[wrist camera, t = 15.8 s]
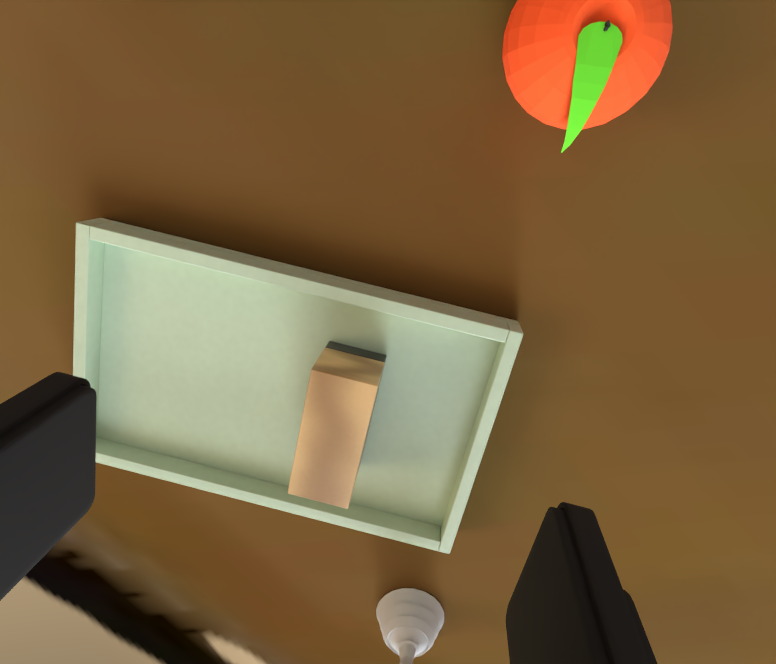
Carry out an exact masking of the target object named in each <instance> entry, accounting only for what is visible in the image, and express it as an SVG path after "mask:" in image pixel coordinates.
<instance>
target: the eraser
mask: <svg viewBox="0 0 776 664" xmlns="http://www.w3.org/2000/svg"><path fill="white" fill-rule="evenodd" d="M386 357H387V355H384V354H380V353H376V352H372V351H369V350H365V349H361V348H357V347H353V346H349V345H345V344H341V343H337V342H333V341H329V342H328V344H327V345H326V347H325V348H324V350H323V351H322V353H321V354H320V356H319V358H318V359H317V361H316V363H315V364H314V366H313V367H312V369H311V373H310V378H309V383H308V388H307V393H306V399H305V404H304V409H303V414H302V420H301V425H300V430H299V435H298V440H297V446H296V451H295V456H294V461H293V466H292V472H291V477H290V482H289V487H288V494H292V495H296V496H300V497H304V498H307V499H311V500H315V501H319V502H323V503H327V504H330V505H334V506H338V507H342V508H346V509H348V508H349V504H350V500H351V497H352V493H353V489H354V486H355V482H356V479H357V475H358V471H359V468H360V464H361V460H362V456H363V452H364V448H365V443H366V439H367V435H368V431H369V427H370V423H371V419H372V415H373V411H374V407H375V403H376V398H377V394H378V390H379V386H380V382H381V378H382V374H383V370H384V366H385V362H386Z"/></svg>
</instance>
